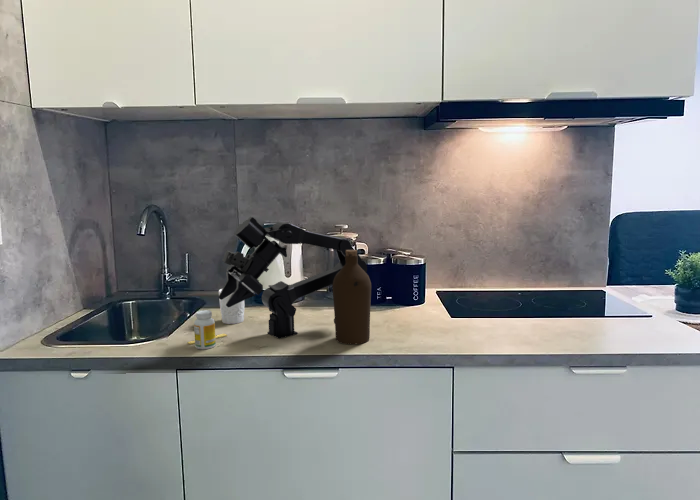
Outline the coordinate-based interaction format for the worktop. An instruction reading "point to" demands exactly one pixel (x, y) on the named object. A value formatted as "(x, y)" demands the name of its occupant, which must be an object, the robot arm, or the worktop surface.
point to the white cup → (231, 311)
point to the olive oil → (352, 302)
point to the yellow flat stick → (215, 338)
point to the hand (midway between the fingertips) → (223, 302)
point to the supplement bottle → (204, 330)
